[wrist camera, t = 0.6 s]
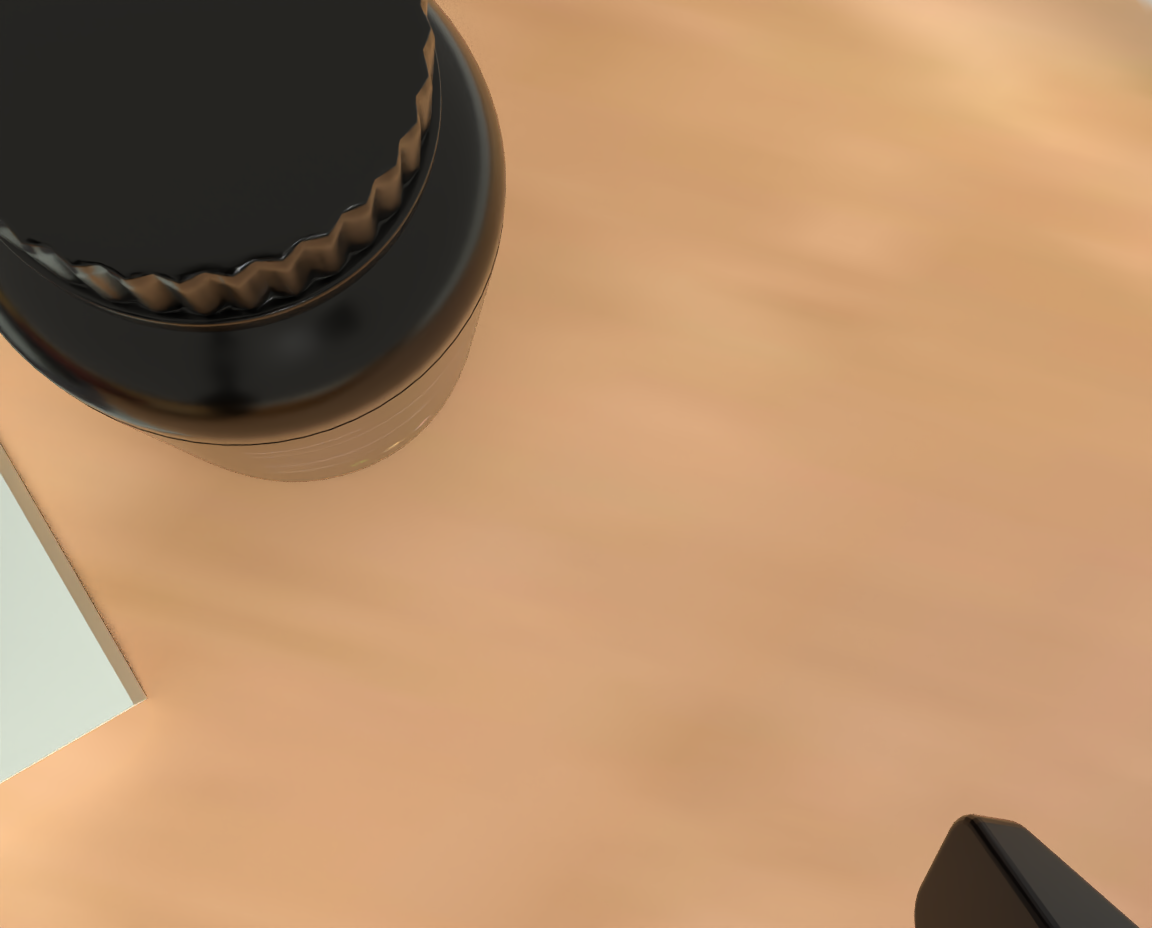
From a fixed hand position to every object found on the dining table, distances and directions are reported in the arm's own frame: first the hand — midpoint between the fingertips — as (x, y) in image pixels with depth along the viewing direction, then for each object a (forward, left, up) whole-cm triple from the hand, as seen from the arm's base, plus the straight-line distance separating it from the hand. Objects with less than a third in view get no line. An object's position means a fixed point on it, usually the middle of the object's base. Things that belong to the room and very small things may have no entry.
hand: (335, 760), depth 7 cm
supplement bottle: (+2, +6, -14) cm, 16 cm away
